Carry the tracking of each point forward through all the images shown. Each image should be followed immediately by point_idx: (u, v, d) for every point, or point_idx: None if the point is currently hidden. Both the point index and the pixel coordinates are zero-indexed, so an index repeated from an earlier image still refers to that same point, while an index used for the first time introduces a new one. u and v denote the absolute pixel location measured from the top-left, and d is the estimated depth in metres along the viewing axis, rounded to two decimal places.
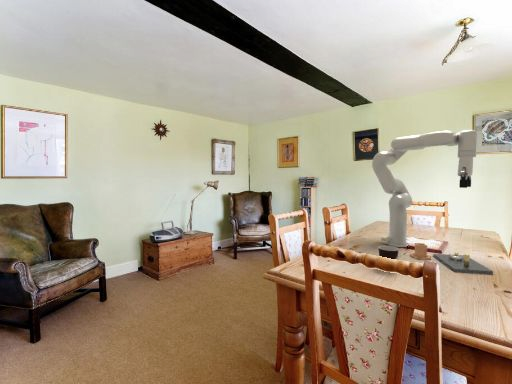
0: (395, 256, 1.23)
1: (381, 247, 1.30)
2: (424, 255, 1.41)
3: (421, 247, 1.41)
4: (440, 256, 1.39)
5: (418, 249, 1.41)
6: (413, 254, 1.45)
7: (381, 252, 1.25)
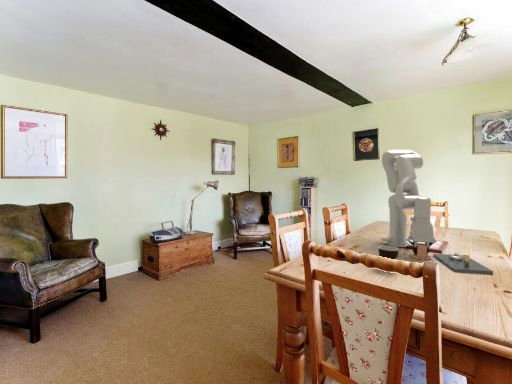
0: (395, 256, 1.23)
1: (381, 247, 1.30)
2: (424, 255, 1.41)
3: (421, 247, 1.41)
4: (440, 256, 1.39)
5: (418, 249, 1.41)
6: (413, 254, 1.45)
7: (381, 252, 1.25)
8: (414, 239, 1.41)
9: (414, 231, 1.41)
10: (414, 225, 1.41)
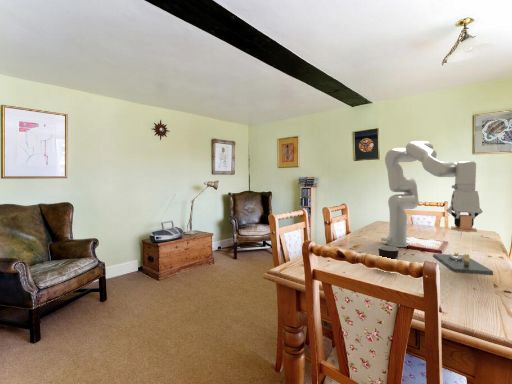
0: (395, 256, 1.23)
1: (381, 247, 1.30)
2: (468, 227, 1.23)
3: (464, 218, 1.24)
4: (440, 256, 1.39)
5: (461, 220, 1.24)
6: (455, 227, 1.27)
7: (381, 252, 1.25)
8: (457, 209, 1.24)
9: (457, 200, 1.24)
10: (457, 193, 1.24)
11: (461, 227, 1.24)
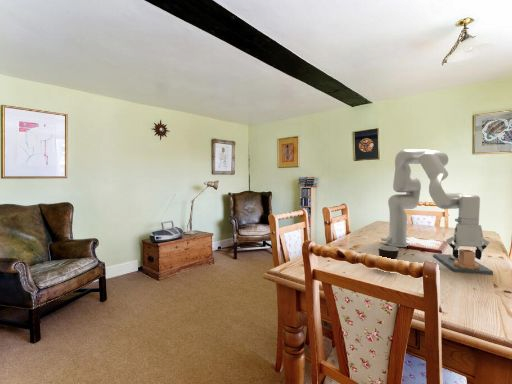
0: (395, 256, 1.23)
1: (381, 247, 1.30)
2: (471, 263, 1.23)
3: (467, 254, 1.23)
4: (440, 256, 1.39)
5: (464, 256, 1.24)
6: (457, 262, 1.27)
7: (381, 252, 1.25)
8: (460, 243, 1.23)
9: (460, 234, 1.23)
10: (460, 227, 1.23)
11: (464, 263, 1.24)
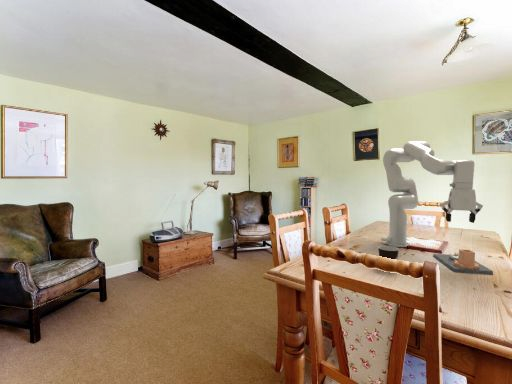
0: (395, 256, 1.23)
1: (381, 247, 1.30)
2: (471, 263, 1.23)
3: (467, 254, 1.23)
4: (440, 256, 1.39)
5: (464, 256, 1.24)
6: (457, 262, 1.27)
7: (381, 252, 1.25)
8: (454, 207, 1.26)
9: (454, 198, 1.26)
10: (454, 191, 1.26)
11: (464, 263, 1.24)
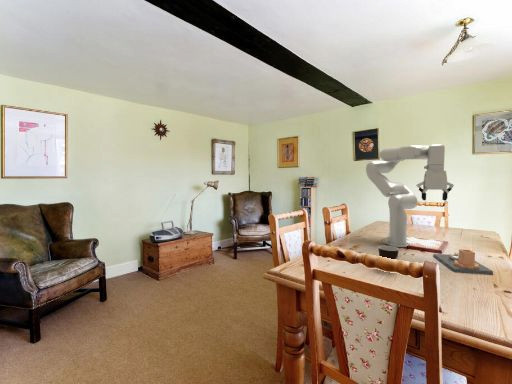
0: (395, 256, 1.23)
1: (381, 247, 1.30)
2: (471, 263, 1.23)
3: (467, 254, 1.23)
4: (440, 256, 1.39)
5: (464, 256, 1.24)
6: (457, 262, 1.27)
7: (381, 252, 1.25)
8: (428, 186, 1.41)
9: (428, 178, 1.41)
10: (428, 172, 1.41)
11: (464, 263, 1.24)
